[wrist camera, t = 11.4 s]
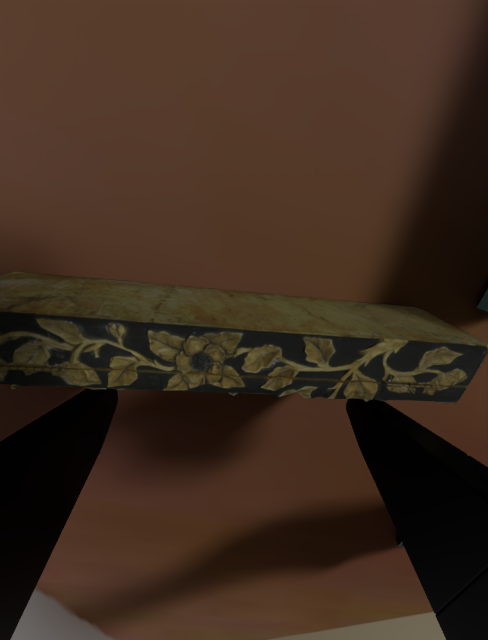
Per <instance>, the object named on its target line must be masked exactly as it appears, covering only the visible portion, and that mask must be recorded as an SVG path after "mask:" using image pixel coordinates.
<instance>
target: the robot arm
mask: <svg viewBox="0 0 488 640" xmlns="http://www.w3.org/2000/svg"><path fill="white" fill-rule="evenodd" d="M117 403H118V395H117V390H116V389H109V388H106V389H89V388H87V389H85V390H83V391H82V392H80V393H79V394H77V395H75V396H74V397H72V398H70V399H69V400H67V401H66V402H64V403H62V404H61V405H59V406H57V407H56V408H54V409H53V410H51V411H49V412H48V413H46V414H44V415H43V416H41V417H40V418H38V419H36V420H35V421H33V422H31V423H30V424H28V425H27V426H25V427H23V428H22V429H20V430H18V431H17V432H15V433H14V434H12V435H10V436H9V437H7V438H5V439H4V440H2V441H1V442H0V640H10V639H11V637H12V635H13V633H14V631H15V629H16V627H17V624H18V622H19V620H20V618H21V616H22V614H23V612H24V610H25V608H26V606H27V603H28V601H29V599H30V597H31V595H32V593H33V591H34V589H35V587H36V585H37V583H38V581H39V578H40V576H41V574H42V572H43V570H44V568H45V566H46V564H47V562H48V560H49V557H50V555H51V553H52V551H53V549H54V547H55V545H56V543H57V541H58V539H59V537H60V534H61V532H62V530H63V528H64V526H65V524H66V522H67V520H68V518H69V516H70V513H71V511H72V509H73V507H74V505H75V503H76V501H77V499H78V497H79V495H80V493H81V490H82V488H83V486H84V484H85V482H86V480H87V478H88V476H89V474H90V472H91V469H92V467H93V465H94V463H95V461H96V459H97V457H98V455H99V453H100V450H101V448H102V446H103V443H104V440H105V438H106V435H107V432H108V429H109V426H110V423H111V420H112V418H113V415H114V412H115V409H116V406H117ZM346 410H347V413H348V416H349V419H350V422H351V425H352V428H353V431H354V434H355V437H356V439H357V442H358V445H359V448H360V450H361V452H362V455H363V457H364V459H365V461H366V464H367V466H368V468H369V470H370V472H371V475H372V477H373V479H374V481H375V483H376V486H377V488H378V490H379V492H380V494H381V497H382V499H383V501H384V503H385V505H386V508H387V510H388V512H389V514H390V516H391V519H392V521H393V523H394V525H395V527H396V530H397V532H398V536H397V537H396V541H397V543H398V545H399V547H405V549H406V552H407V554H408V556H409V558H410V560H411V563H412V565H413V567H414V569H415V571H416V574H417V576H418V578H419V580H420V582H421V585H422V587H423V589H424V591H425V593H426V596H427V598H428V600H429V602H430V604H431V607H432V609H433V611H434V613H435V614H436V618H437V620H438V622H439V624H440V627H441V629H442V631H443V633H444V636H445V638H446V640H488V467H487V466H485V465H483V464H482V463H480V462H479V461H477V460H475V459H474V458H472V457H471V456H468V455H467V454H466V453H464V452H463V451H461V450H460V449H458V448H457V447H455V446H453V445H452V444H450V443H449V442H447V441H445V440H444V439H442V438H441V437H439V436H438V435H436V434H434V433H433V432H431V431H430V430H428V429H427V428H425V427H423V426H422V425H420V424H419V423H417V422H416V421H414V420H412V419H411V418H409V417H408V416H406V415H405V414H403V413H401V412H400V411H398V410H397V409H395V408H394V407H392V406H390V405H389V404H387V403H386V402H384V401H379V400H376V399H373V400H369V401H367V402H366V401H365V400H363V399H355V398H350V399H348V401H347V404H346Z"/></svg>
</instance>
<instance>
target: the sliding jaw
mask: <svg viewBox="0 0 488 640" xmlns="http://www.w3.org/2000/svg"><path fill="white" fill-rule="evenodd" d="M477 308H479V309H481V310H484V311H486V312H488V289H487V291H486V292H485V294H484V296H483V298H482V299H481V301H480V303H479V305H478V306H477Z"/></svg>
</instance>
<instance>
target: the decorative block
mask: <svg viewBox="0 0 488 640" xmlns="http://www.w3.org/2000/svg"><path fill="white" fill-rule="evenodd" d="M487 354H488V343H486V342H484V341H482V340H480V339H478V338H476V337H475V336H473V335H471V334H469V333H467V332H465V331H463V330H461V329H459V328H457V327H455V326H453V325H451V324H449V323H447V322H445V321H443V320H441V319H439V318H438V317H436V316H434V315H432V314H430V313H428V312H426V311H424V310H422V309H419V308H415V307H409V306H399V305H389V304H376V303H365V302H355V301H343V300H329V299H318V298H308V297H294V296H283V295H274V294H262V293H252V292H244V291H234V290H222V289H210V288H194V287H186V286H177V285H163V284H153V283H143V282H133V281H121V280H110V279H99V278H85V277H71V276H59V275H47V274H36V273H25V272H12V273H7V274H4V275H0V384H10V386H11V388H12V390H14V389H16V388H18V387H21V386H66V387H85V388H89V389H106V388H109V389H116V390H124V389H144V390H172V391H193V392H220V393H229V394H231V395H236V394H238V393H249V394H267V395H275V396H277V397H281V396H284V395H288V394H292V393H296V392H298V393H299V394H300V395H301V396H302V397H304V398H315V397H324V398H328V399H350V398H355V399H363V400H365V401H366V402H367V401H369V400H373V399H376V400H379V401H386V402H387V401H388V400H416V401H436V402H437V403H456V402H458V400H459V399H460V397H461V396H462V394H463V393H464V391H465V389H466V387H465V386H468V385H469V383H470V382H471V380H472V378H473V377H474V375H475V373H476V372H477V370H478V368H479V367H480V366H481V364H482V362H483V361H484V359H485V357H486V356H487Z"/></svg>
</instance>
